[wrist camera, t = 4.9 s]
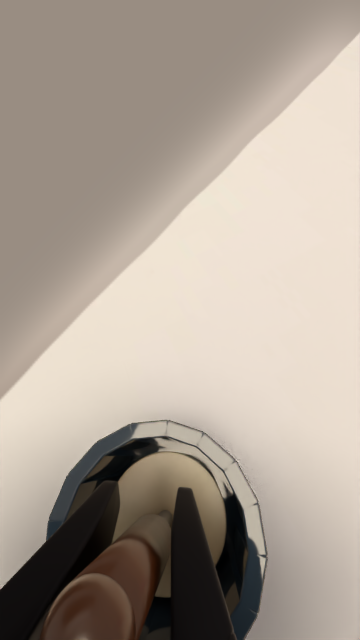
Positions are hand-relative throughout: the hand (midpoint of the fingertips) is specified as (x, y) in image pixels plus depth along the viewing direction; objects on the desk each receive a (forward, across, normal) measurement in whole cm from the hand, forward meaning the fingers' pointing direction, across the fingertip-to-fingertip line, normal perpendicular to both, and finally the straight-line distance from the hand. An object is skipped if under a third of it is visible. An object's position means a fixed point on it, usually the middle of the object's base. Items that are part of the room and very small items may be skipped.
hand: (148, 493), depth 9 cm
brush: (+6, 0, +8) cm, 10 cm away
